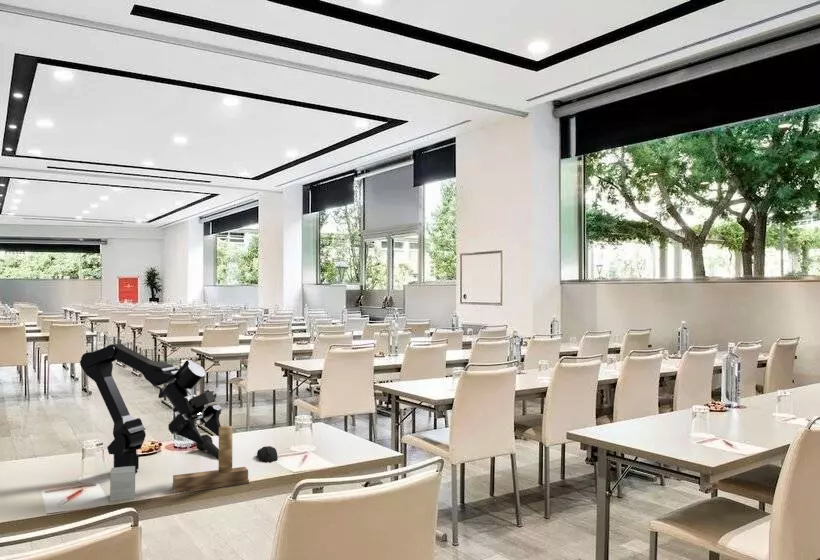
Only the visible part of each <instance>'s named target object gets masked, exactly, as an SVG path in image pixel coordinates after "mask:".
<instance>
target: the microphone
mask: <svg viewBox="0 0 820 560" xmlns="http://www.w3.org/2000/svg"><path fill="white" fill-rule="evenodd" d="M201 437H202V438H203V440H204V442H205V443H204V444H203V445H200V444H198V443H196V442H195V447H196V449H197V450H199V451H200V452H202V451H203V450H204V451H205V452H206V453H207V454H208V455H212V456H214V457H215V458H217V459H218V460H219V447H218V446H217V445H215V444H214V443H213V438H212V437H211V436H210V435H209V434H202V435H201ZM204 451H203V452H204Z"/></svg>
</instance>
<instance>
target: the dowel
mask: <svg viewBox="0 0 820 560" xmlns="http://www.w3.org/2000/svg"><path fill="white" fill-rule="evenodd" d="M233 428H234V427H233V426H232V425H221V427H219V437H218V449H219V459H218V470H219V472H221V473H227V472H231V471H232V468H233V433H234V432H233Z"/></svg>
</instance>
